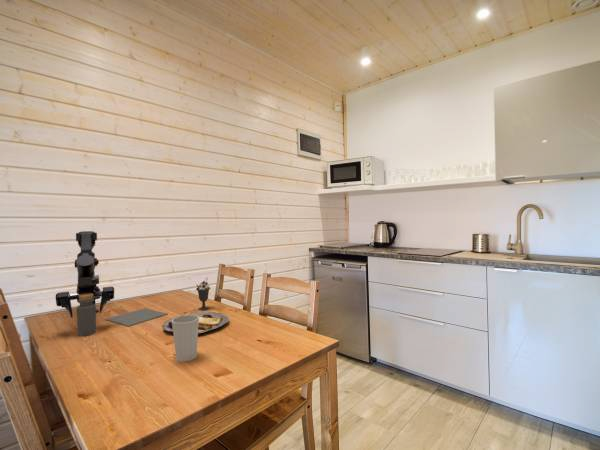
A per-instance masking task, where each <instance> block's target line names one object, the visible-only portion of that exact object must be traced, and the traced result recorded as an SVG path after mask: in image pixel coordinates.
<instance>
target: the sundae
mask: <svg viewBox="0 0 600 450" xmlns="http://www.w3.org/2000/svg"><path fill="white" fill-rule="evenodd" d="M207 280H208V277H206V278H205V280H203V281H202V282H200V284H196V286H197V288H196V289H195V290H196V291H197V293H198V300H199V301H200V302H201V307H199V308H198V311H207V310H209V309H210V306H209V307H208V306H206V301H208V299H209V293H210V290H211V286H210V285H209V284H208V281H207Z"/></svg>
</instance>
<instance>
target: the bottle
mask: <svg viewBox="0 0 600 450" xmlns="http://www.w3.org/2000/svg"><path fill="white" fill-rule="evenodd" d="M79 299H80V300H78V302H77V303H78V304H79V305H78V306H77V308H76V319H77V321H76V322H77V324H76V325H77V328H76V329H77V336H79V337H86V336H87V337H88V336H91V335H93V334H96V332H97V312H96V310H97V309H96V305H95V304H93V301H94V298H93V293H87V294H81V295H79Z"/></svg>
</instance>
